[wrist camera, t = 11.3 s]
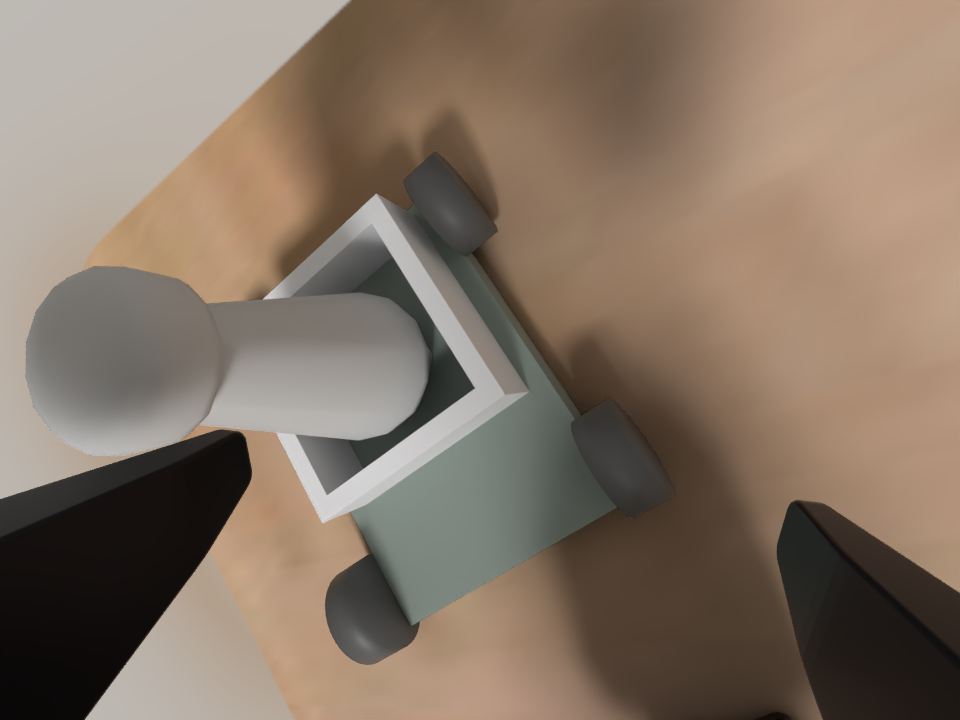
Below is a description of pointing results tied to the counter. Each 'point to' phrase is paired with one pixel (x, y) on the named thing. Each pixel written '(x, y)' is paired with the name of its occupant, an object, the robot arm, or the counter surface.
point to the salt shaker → (216, 363)
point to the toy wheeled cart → (454, 427)
